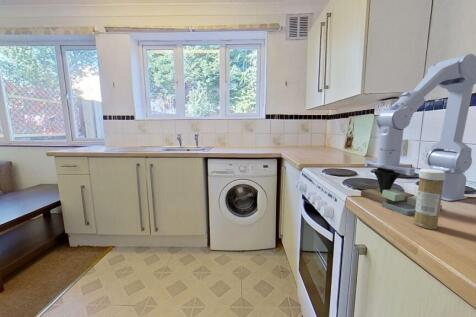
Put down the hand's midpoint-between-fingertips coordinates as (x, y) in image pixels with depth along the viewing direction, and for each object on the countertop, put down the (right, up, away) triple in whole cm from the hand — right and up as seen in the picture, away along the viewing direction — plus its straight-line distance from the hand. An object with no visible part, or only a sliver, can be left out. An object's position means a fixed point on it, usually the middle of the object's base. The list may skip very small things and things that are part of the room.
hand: (384, 193), depth 70 cm
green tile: (+1, -1, -3) cm, 3 cm away
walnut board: (+3, -2, +3) cm, 5 cm away
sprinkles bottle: (-1, -5, -16) cm, 17 cm away
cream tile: (+8, -3, -4) cm, 9 cm away
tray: (+5, -3, -5) cm, 8 cm away
